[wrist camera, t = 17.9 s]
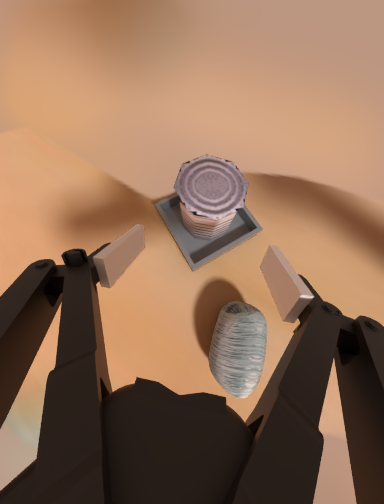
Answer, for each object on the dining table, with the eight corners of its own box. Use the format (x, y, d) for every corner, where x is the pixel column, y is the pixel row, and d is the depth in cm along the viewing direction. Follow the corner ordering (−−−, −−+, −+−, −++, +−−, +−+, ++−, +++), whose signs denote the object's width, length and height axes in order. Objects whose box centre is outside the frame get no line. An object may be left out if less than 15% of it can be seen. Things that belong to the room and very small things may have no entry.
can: (187, 193, 36) (183, 148, 24) (234, 201, 35) (253, 158, 24) (177, 237, 33) (167, 209, 22) (227, 246, 33) (245, 223, 21)
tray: (256, 235, 34) (262, 229, 30) (193, 271, 32) (192, 269, 29) (217, 181, 37) (219, 170, 34) (158, 211, 36) (154, 203, 32)
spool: (215, 287, 28) (253, 318, 19) (251, 299, 32) (298, 329, 22) (188, 353, 28) (212, 414, 19) (227, 357, 32) (263, 411, 23)
